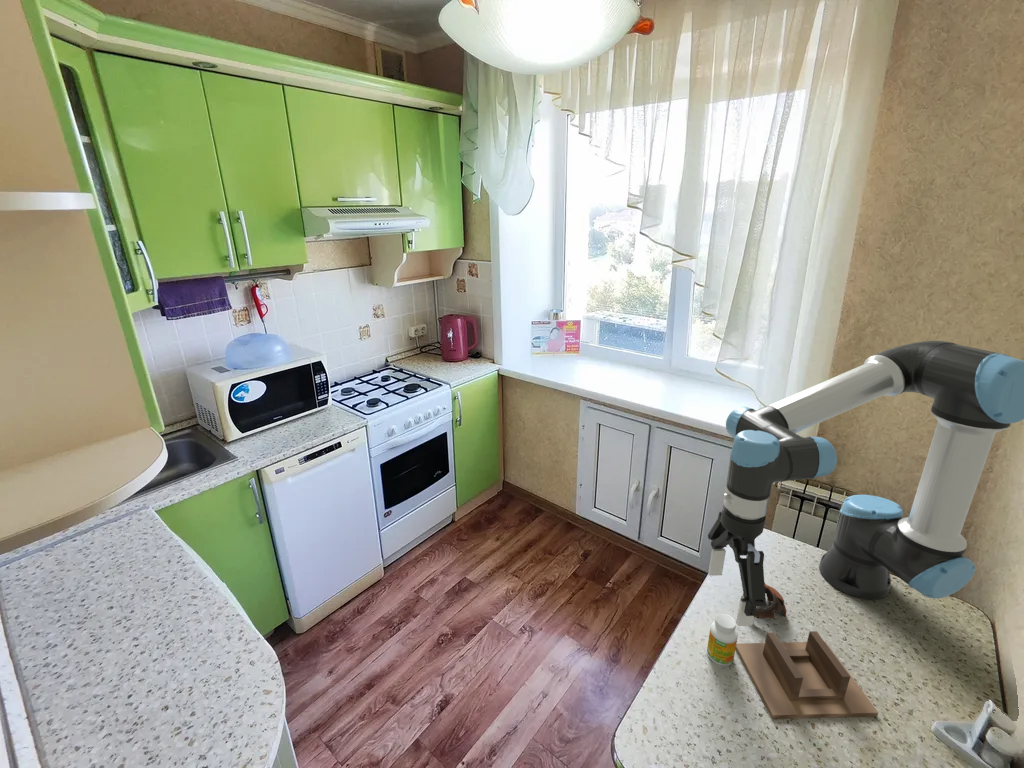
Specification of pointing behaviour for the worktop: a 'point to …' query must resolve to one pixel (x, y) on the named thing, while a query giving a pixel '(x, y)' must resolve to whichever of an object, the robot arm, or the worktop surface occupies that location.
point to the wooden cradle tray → (803, 679)
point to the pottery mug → (776, 604)
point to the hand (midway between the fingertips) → (728, 597)
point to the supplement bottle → (722, 640)
